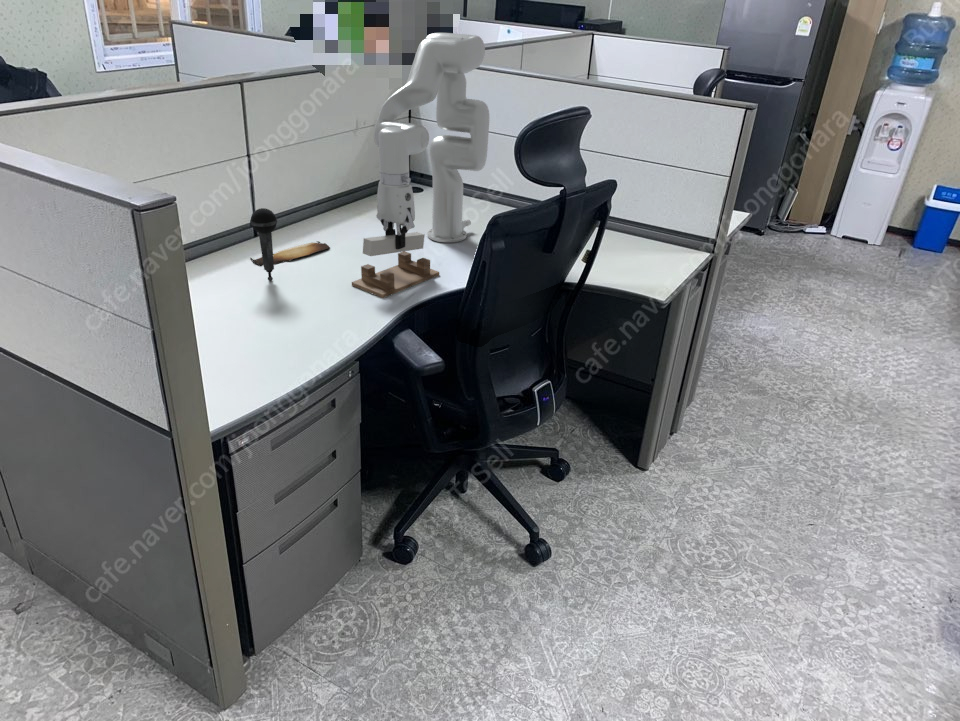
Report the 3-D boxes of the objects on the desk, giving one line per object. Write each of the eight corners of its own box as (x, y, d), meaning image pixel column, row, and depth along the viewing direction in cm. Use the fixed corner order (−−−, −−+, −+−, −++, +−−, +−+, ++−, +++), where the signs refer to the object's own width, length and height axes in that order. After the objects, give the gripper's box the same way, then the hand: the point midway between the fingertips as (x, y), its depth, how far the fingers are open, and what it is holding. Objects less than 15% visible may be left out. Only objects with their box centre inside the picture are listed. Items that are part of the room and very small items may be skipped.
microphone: (260, 287, 191) (251, 214, 181) (254, 278, 196) (245, 206, 186) (286, 283, 193) (279, 211, 184) (280, 274, 199) (272, 203, 189)
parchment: (318, 241, 224) (318, 238, 223) (337, 249, 218) (337, 246, 217) (246, 261, 208) (246, 258, 208) (264, 270, 202) (264, 267, 202)
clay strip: (415, 245, 202) (416, 231, 200) (423, 248, 200) (424, 234, 199) (362, 253, 187) (363, 238, 185) (370, 256, 185) (371, 241, 184)
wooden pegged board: (408, 264, 209) (408, 247, 207) (439, 275, 203) (439, 258, 200) (351, 285, 194) (350, 268, 192) (383, 298, 188) (382, 280, 185)
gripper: (427, 181, 183) (427, 250, 192) (382, 169, 192) (384, 236, 200) (407, 187, 178) (407, 257, 186) (361, 174, 186) (364, 242, 195)
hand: (395, 245), depth 193 cm, fingers closed on clay strip, 3 cm apart
